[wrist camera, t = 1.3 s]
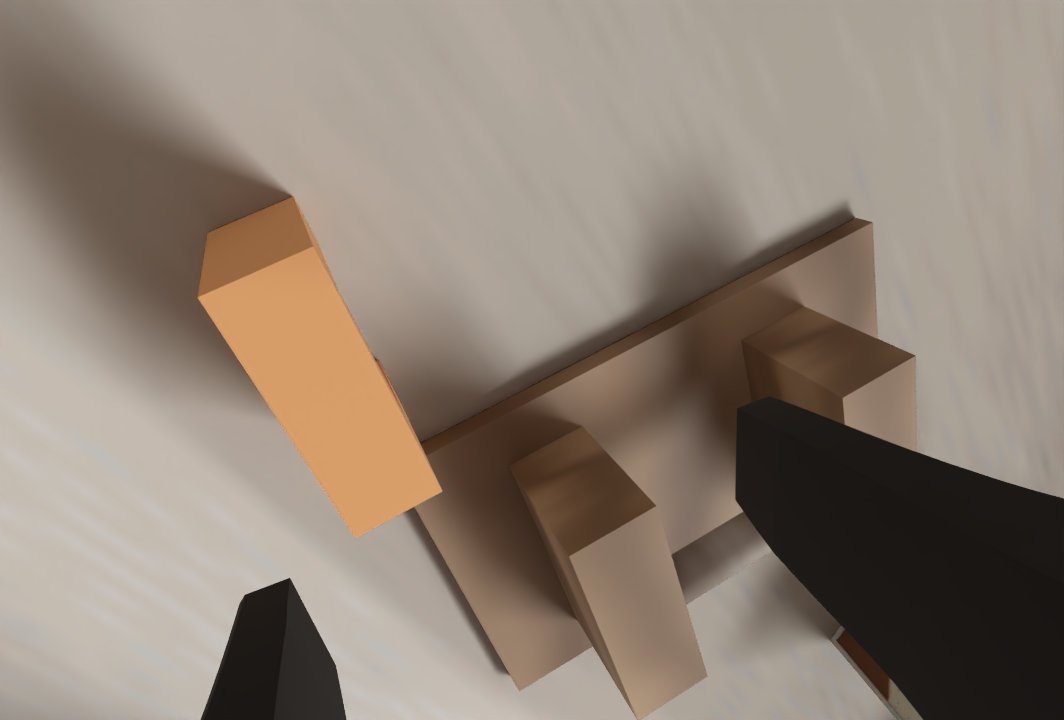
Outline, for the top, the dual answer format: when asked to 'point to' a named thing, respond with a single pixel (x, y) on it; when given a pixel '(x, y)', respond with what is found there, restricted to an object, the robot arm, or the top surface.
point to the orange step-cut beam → (313, 365)
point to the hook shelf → (654, 467)
